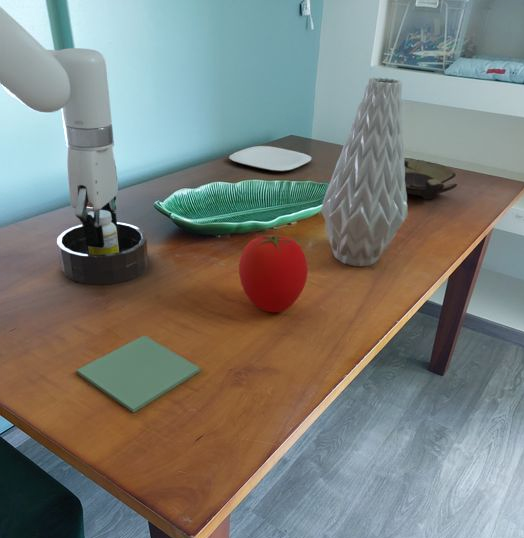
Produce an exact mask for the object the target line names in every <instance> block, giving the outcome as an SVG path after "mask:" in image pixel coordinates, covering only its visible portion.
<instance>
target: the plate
mask: <svg viewBox="0 0 524 538" xmlns="http://www.w3.org/2000/svg"><path fill="white" fill-rule="evenodd" d="M228 159H229V160H230V161H232V162H233V163H236V164H239V165H243V166H247V167H250V168H253V169H254V168H255V169H258V170H262V171H270V172H290V171H292V170H296V169H298V168H300V167H302V166H305V165H307V164H309V162H311V161H312V156H310V155H308V154H306V153H302V152H299V151H294V150H290V149H286V148H281V147H276V146H269V145H267V146H266V145H258V146H252V147H251V146H250V147H247V148H244V149H240V150H238V151H236V152H233V153H232V154H229V157H228Z"/></svg>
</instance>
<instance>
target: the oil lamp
mask: <svg viewBox="0 0 524 538" xmlns="http://www.w3.org/2000/svg"><path fill="white" fill-rule="evenodd" d="M404 167H405V186H406V194H407V195H411V196H412V195H413V196H419V197H420V196H421V197H423V198H424V199H425V200H432V199H434V198H435V197H436V196H437V195H438V194H443V193H445V192H448V191H451V190H453V189H455V188H456V187H457V186H458V183H449V184H444V183H447V182H448V181H450V180H452V179H453V178H455V177H456V175H457V174H456V172H455V171H453V170H452V169H451V168H448V167H446V166H445V165H443V164H440V163H437V162H431V161H425V160H423V159H422V160H421V159H416V158H412V157H411V158H404Z"/></svg>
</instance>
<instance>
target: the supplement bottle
mask: <svg viewBox="0 0 524 538" xmlns="http://www.w3.org/2000/svg"><path fill="white" fill-rule="evenodd" d="M88 215H91V216H92V217H93V218H94V212H91V211H88ZM111 220H112V218H111V213H110V212H109V211H106V210H100V225H101V226H102V230H103V238H104V247H103V248H99V247H91V246H88V248H89V254H90V255H104V254H113V253H119V247H118V238H117V229H116V226H115V225H114V224H113V223H112V222H111Z"/></svg>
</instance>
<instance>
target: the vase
mask: <svg viewBox="0 0 524 538" xmlns="http://www.w3.org/2000/svg"><path fill="white" fill-rule="evenodd" d="M402 87H403V82H402V81H401V80H400V79H395V78H388V77H385V78H382V77H378V78H376V77H373V78H369V79H368V81H367V85H366V86H365V88H364V92H363V94H362V96H361V97H362V98H361V101H360V103H359V104H358V106H357V109H356V113H355V116H354V120H353V122H352V124H351V127H350V130H349V133H348V135H347V136H346V140H345V142H344V144H343V147H342V149H341V152H340V155H339V158H338V159H337V160H336V161H337V162H336V164H335V168H334V170H333V173H332V176H331V178H330V181H329V184H328V186H327V189H326V192H325V194H324V198H323V200H322V202H321V203H322V205H321V208H320V212H321V214H322V216H323V218H324V221H325V224H324V226H325V227H324V229H325V231H326V235H327V240H328V242H329V243H330V244H329V245H330V246H331V250H332V254H333V256H334V257H333V258H335V259H336V260H337V261H338V262H339V263H342V264H344V265H348V266H352V267H359V268H361V267H368V266H369V267H370V266H372V265H375V264H376V263H377V262H378V261H379V259H380V257H381V256H382V254H384V253H386V252H387V251H388V248H389V247H390V245H391V244H392V241H393V240H394V238H395V237H396V236H397V234H398V230H399V229H400V228H401V227H402V226H403V224H404V222H405V221H406V219H407V218H408V215H409V212H408V208H409V207H408V194H407V193H406V186H405V168H406V166H404V159H405V150H404V149H405V145H404V135H403V134H404V133H403V99H402V89H403V88H402Z"/></svg>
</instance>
